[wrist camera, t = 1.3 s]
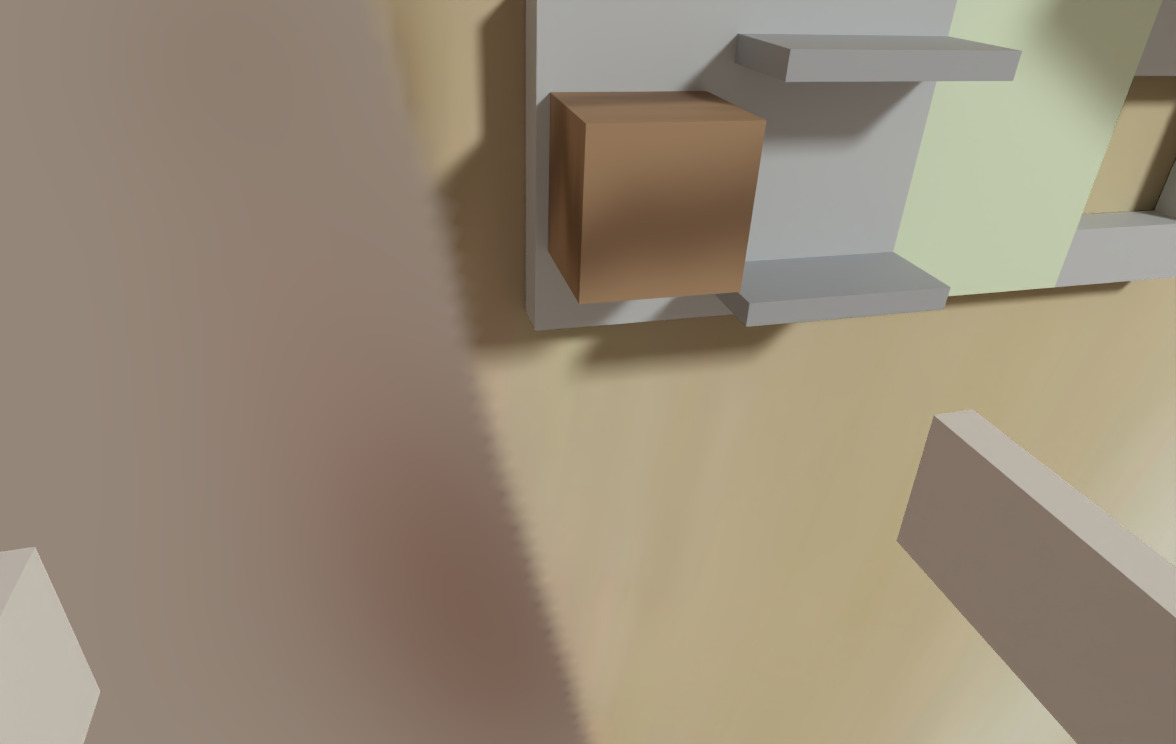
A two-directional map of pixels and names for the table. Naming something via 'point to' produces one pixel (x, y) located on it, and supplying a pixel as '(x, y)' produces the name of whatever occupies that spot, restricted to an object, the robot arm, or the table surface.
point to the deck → (876, 144)
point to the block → (650, 193)
